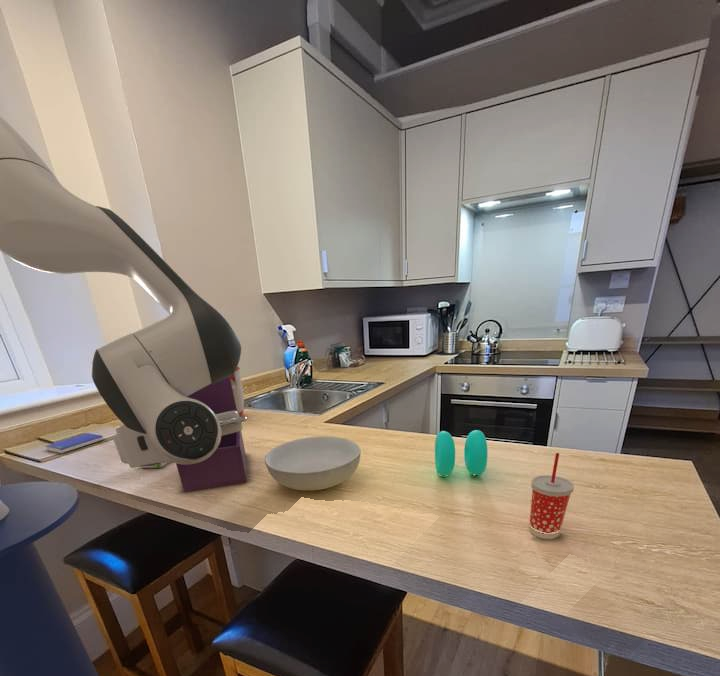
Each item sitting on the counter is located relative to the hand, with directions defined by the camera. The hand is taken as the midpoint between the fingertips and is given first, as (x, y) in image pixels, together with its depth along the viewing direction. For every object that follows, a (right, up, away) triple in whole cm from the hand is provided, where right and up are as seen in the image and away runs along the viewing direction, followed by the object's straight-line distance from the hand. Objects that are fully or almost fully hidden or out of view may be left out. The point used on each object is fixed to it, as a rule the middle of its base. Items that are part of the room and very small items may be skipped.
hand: (181, 435), depth 73 cm
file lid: (-4, +12, +20) cm, 23 cm away
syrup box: (-20, -4, +30) cm, 36 cm away
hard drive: (-54, +2, +48) cm, 72 cm away
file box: (-1, -6, +22) cm, 23 cm away
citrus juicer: (-14, +13, +66) cm, 69 cm away
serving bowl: (+24, -9, +15) cm, 29 cm away
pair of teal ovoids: (+56, -7, +14) cm, 58 cm away
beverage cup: (+64, -17, -8) cm, 67 cm away
